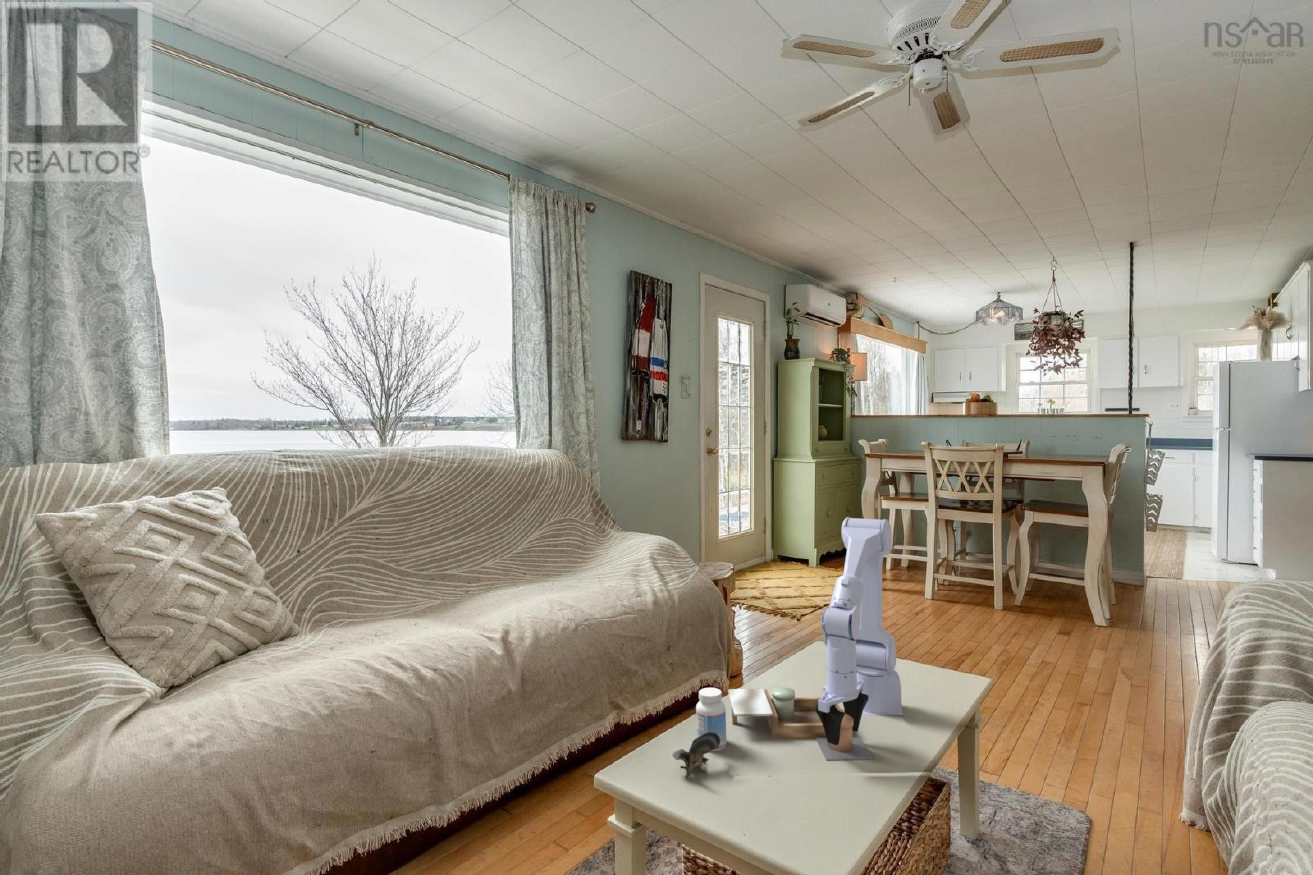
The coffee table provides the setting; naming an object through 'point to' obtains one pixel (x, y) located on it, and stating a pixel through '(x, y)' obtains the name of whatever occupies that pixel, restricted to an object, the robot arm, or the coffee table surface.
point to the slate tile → (854, 754)
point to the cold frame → (763, 705)
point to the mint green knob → (784, 702)
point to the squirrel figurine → (697, 752)
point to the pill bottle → (711, 715)
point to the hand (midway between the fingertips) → (842, 736)
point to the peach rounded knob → (844, 735)
